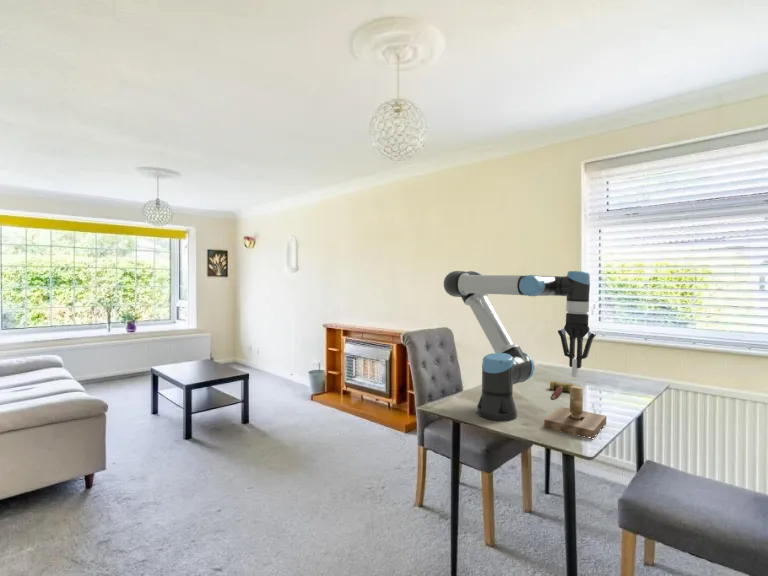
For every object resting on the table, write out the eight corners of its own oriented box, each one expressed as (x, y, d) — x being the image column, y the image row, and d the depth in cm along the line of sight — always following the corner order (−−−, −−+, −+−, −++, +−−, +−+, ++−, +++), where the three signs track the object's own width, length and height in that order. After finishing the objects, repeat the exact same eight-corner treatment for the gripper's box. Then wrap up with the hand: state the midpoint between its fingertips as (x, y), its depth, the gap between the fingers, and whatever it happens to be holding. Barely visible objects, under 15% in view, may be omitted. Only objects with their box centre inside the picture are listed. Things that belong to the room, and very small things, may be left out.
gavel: (565, 395, 176) (541, 391, 182) (565, 405, 176) (541, 401, 182) (573, 382, 193) (552, 379, 199) (573, 391, 193) (551, 388, 199)
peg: (567, 425, 146) (568, 387, 146) (571, 422, 149) (572, 385, 149) (580, 428, 143) (581, 389, 143) (583, 425, 146) (584, 387, 146)
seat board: (544, 427, 144) (544, 419, 144) (561, 414, 159) (561, 406, 159) (593, 439, 133) (593, 430, 133) (606, 423, 149) (606, 415, 149)
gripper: (599, 313, 146) (596, 377, 147) (562, 311, 155) (560, 371, 155) (593, 314, 140) (591, 381, 141) (555, 312, 149) (553, 374, 150)
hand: (574, 376), depth 148 cm, fingers closed
